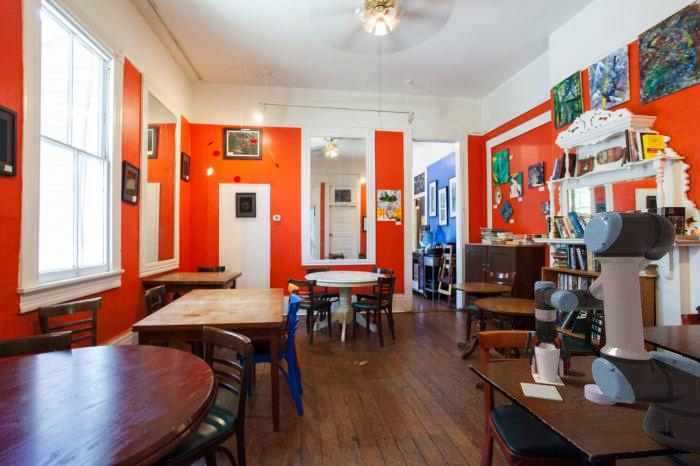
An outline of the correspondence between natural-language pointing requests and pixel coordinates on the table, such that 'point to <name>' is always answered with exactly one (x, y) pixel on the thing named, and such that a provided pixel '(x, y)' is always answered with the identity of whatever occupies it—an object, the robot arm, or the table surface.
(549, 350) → the foam cup
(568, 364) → the apple
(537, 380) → the cream card
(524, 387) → the sage mat
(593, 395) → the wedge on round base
